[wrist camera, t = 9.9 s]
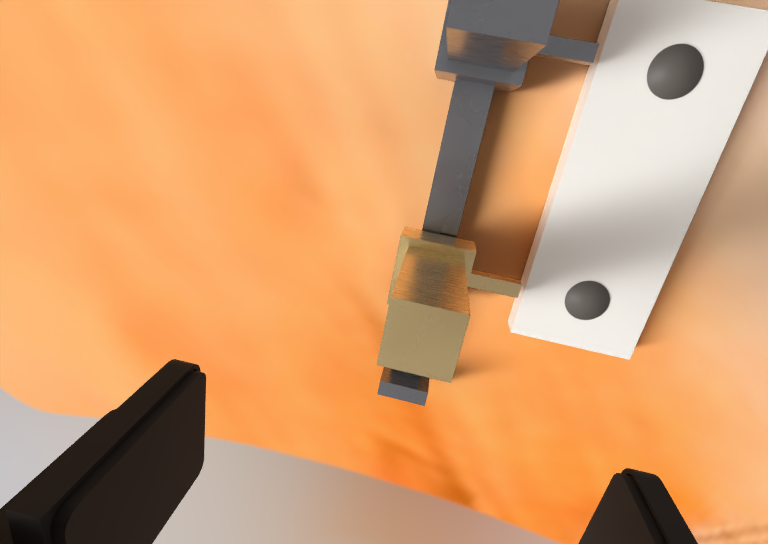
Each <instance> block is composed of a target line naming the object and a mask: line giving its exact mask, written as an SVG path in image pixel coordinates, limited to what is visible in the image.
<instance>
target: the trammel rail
mask: <svg viewBox="0 0 768 544" xmlns="http://www.w3.org/2000/svg"><path fill="white" fill-rule="evenodd" d="M558 3H559V0H449V2H448V7H447V12H446V16H445V21H444V26H443V31H442V36H441V41H440V46H439V51H438V56H437V61H436V66H435V73H436V76H437V78H438V79H444V80H449V81H454V82H455V84H454V89H453V93H452V98H451V102H450V107H449V111H448V116H447V120H446V125H445V129H444V134H443V138H442V143H441V147H440V152H439V157H438V161H437V166H436V170H435V175H434V179H433V184H432V188H431V193H430V197H429V202H428V206H427V211H426V215H425V220H424V224H423V229H422V231H426V232H431V233H436V234H440V235H445V236H449V237H454V238H457V235H458V231H459V227H460V223H461V219H462V215H463V211H464V207H465V203H466V199H467V195H468V191H469V187H470V183H471V179H472V175H473V171H474V167H475V163H476V159H477V155H478V151H479V147H480V143H481V139H482V135H483V131H484V127H485V123H486V119H487V115H488V112H489V108H490V104H491V100H492V96H493V92H494V89H497V90H502V91H508V92H512V91H514V90H516V89H517V88H519V87H521V86H522V84H523V80H524V76H525V72H526V69H527V65H528V61H529V59H530V58H532V57H533V56H539V57H545V58H550V59H556V60H561V61H567V62H572V63H578V64H583V65H590V64H592V63H593V62H594V59H595V56H596V53H597V50H598V47H599V44H598V43H592V42H586V41H581V40H575V39H569V38H564V37H558V36H552V35H550V31H551V28H552V24H553V20H554V17H555V13H556V10H557V6H558ZM428 387H429V378H428V377H424V376H420V375H416V374H412V373H408V372H404V371H400V370H395V369H391V368H387V367H384V369H383V373H382V377H381V380H380V385H379V389H378V394H379V395H383V396H387V397H391V398H395V399H399V400H403V401H407V402H411V403H415V404H419V405H423V406H425V402H426V398H427V395H428Z"/></svg>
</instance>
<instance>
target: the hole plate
mask: <svg viewBox="0 0 768 544" xmlns="http://www.w3.org/2000/svg"><path fill="white" fill-rule="evenodd" d="M597 43H598V44H599V47H598V50H597V53H596V56H595V59H594V62H593V63H592V64H590V65H589V68H588V71H587V74H586V77H585V80H584V84H583V87H582V90H581V93H580V96H579V99H578V102H577V106H576V109H575V112H574V115H573V118H572V121H571V124H570V128H569V131H568V134H567V137H566V140H565V143H564V146H563V150H562V153H561V156H560V159H559V162H558V165H557V168H556V171H555V175H554V178H553V181H552V184H551V187H550V190H549V193H548V197H547V200H546V203H545V206H544V209H543V212H542V215H541V219H540V222H539V225H538V228H537V231H536V234H535V237H534V241H533V244H532V247H531V250H530V253H529V256H528V259H527V263H526V266H525V269H524V272H523V275H522V278H521V284H522V287H521V290H520V293H519V296H518V298H516V297H515V300H514V303H513V306H512V310H511V313H510V316H509V319H508V324H509V328H510V331H511V332H512V333H516V334H521V335H525V336H529V337H534V338H538V339H542V340H547V341H551V342H555V343H560V344H564V345H568V346H573V347H577V348H581V349H585V350H590V351H594V352H598V353H603V354H607V355H611V356H616V357H620V358H624V359H629V360H630V357H631V355H632V353H633V351H634V348H635V346H636V344H637V342H638V339H639V337H640V335H641V333H642V330H643V328H644V326H645V324H646V321H647V319H648V317H649V315H650V312H651V310H652V308H653V306H654V304H655V301H656V299H657V297H658V295H659V292H660V290H661V288H662V286H663V283H664V281H665V279H666V277H667V274H668V272H669V270H670V268H671V265H672V263H673V261H674V259H675V257H676V254H677V252H678V250H679V248H680V245H681V243H682V241H683V239H684V236H685V234H686V232H687V230H688V227H689V225H690V223H691V221H692V218H693V216H694V214H695V212H696V209H697V207H698V205H699V203H700V201H701V198H702V196H703V194H704V192H705V189H706V187H707V185H708V183H709V180H710V178H711V176H712V174H713V171H714V169H715V167H716V165H717V162H718V160H719V158H720V156H721V154H722V151H723V149H724V147H725V145H726V142H727V140H728V138H729V136H730V133H731V131H732V129H733V127H734V124H735V122H736V120H737V118H738V115H739V113H740V111H741V109H742V106H743V104H744V102H745V100H746V98H747V95H748V93H749V91H750V89H751V86H752V84H753V82H754V80H755V77H756V75H757V73H758V71H759V68H760V66H761V64H762V62H763V59H764V57H765V55H766V53H767V51H768V11H767V10H761V9H755V8H749V7H743V6H737V5H731V4H725V3H719V2H713V1H707V0H610V2H609V5H608V8H607V11H606V15H605V18H604V21H603V24H602V27H601V30H600V33H599V37H598V40H597Z"/></svg>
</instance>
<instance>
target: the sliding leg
mask: <svg viewBox="0 0 768 544" xmlns="http://www.w3.org/2000/svg"><path fill="white" fill-rule="evenodd" d="M476 252H477V251H476V246H475V242H473V241H468V240H463V239H459V238H454V237H449V236H445V235H440V234H436V233H431V232H426V231H422V230H417V229H412V228H408V227H404V230H403V232H402V234H401V237H400V242H399V247H398V252H397V257H396V262H395V267H394V272H393V277H392V282H391V286H390V291H389V296H388V301H387V304H389V308H388V313H387V317H386V322H385V327H384V332H383V337H382V342H381V347H380V351H379V356H378V361H377V365H379V366H383V367H387V368H391V369H395V370H400V371H404V372H408V373H412V374H416V375H420V376H424V377H428V378H433V379H437V380H441V381H445V382H449V383H451V382H452V378H453V375H454V371H455V368H456V364H457V360H458V357H459V353H460V350H461V346H462V343H463V339H464V336H465V332H466V329H467V325H468V321H469V318H470V307H469V297H468V287H471V288H475V289H480V290H484V291H489V292H493V293H498V294H502V295H507V296H511V297H516V298H518V296H519V293H520V290H521V287H522V284H521V281H520V280H518V279H513V278H509V277H504V276H500V275H495V274H491V273H486V272H482V271H477V270H473V269H472V267H473V263H474V260H475V256H476Z"/></svg>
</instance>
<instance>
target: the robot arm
mask: <svg viewBox="0 0 768 544" xmlns="http://www.w3.org/2000/svg"><path fill="white" fill-rule="evenodd" d="M205 397H206V375H205V373H202V372H200V367H199V365H197V364H192V363H188V362H184V361H180V360H176V359H174V360H171V361H169V362H168V363H167V364H166V365H165V366H164V367H162V368H161V369H160V370H159V371H158V372H157V373H156V374H155V375H154V376H153V377H151V378H150V379H149V380H148V381H147V382H146V383H145V384H144V385H143V386H142V387H140V388H139V389H138V390H137V391H136V392H135V393H134V394H133V395H132V396H130V397H129V398H128V399H127V400H126V401H125V402H124V403H123V404H122V405H121V406H119V407H118V408H117V409H115V410H112V411H110V412H109V413H108V414H106V415H105V416H104V417H103V418H102V419H100V420H99V421H98V422H97V423H96V424H95V425H94V426H93V427H91V428H90V429H89V430H88V431H87V432H86V433H85V434H84V435H83V436H81V437H80V438H79V439H78V440H77V441H76V442H75V443H74V444H73V445H71V447H69V448H68V449H67V450H66V451H65V452H64V453H62V454H61V455H60V456H59V457H58V458H57V459H56V460H55V461H53V462H52V463H51V464H50V465H49V466H48V467H47V468H46V469H45V470H43V471H42V472H41V473H40V474H39V475H38V476H37V477H36V478H34V479H33V480H32V481H31V482H30V483H29V484H28V485H27V486H26V487H24V488H23V489H22V490H21V491H20V492H19V493H18V494H17V495H15V496H14V497H13V498H12V499H11V500H10V501H9V502H8V503H6V504H5V505H4V506H3V507H2V508H1V509H0V544H152V543H153V542H154V540H155V539H156V537H157V536H158V534H159V533H160V531H161V530H162V528H163V527H164V525H165V524H166V522H167V521H168V519H169V518H170V516H171V515H172V514H173V512H174V511H175V509H176V508H177V506H178V505H179V503H180V502H181V500H182V499H183V497H184V496H185V494H186V493H187V492H188V490H189V489H190V487H191V486H192V484H193V483H194V481H195V480H196V478H197V477H198V475H199V473H200V471H201V469H202V466H203V462H204V437H205ZM579 544H698V543H697V542H696V540H695V538H694V536H693V535H692V533H691V531H690V529H689V528H688V526H687V524H686V522H685V521H684V519H683V517H682V516H681V514H680V512H679V510H678V509H677V507H676V505H675V503H674V502H673V500H672V498H671V496H670V495H669V493H668V491H667V490H666V488H665V486H664V484H663V483H662V481H661V480H660V478H659V477H658V476H656V475H654V474H650V473H646V472H642V471H638V470H634V469H628V468H626V469H624V470H623V471H622V473H621V474H620V473H616V474H615V475H614V476H613V477H612V479H611V481H610V483H609V485H608V487H607V489H606V491H605V493H604V495H603V497H602V499H601V501H600V503H599V505H598V507H597V509H596V511H595V513H594V515H593V517H592V518H591V520H590V522H589V524H588V526H587V528H586V530H585V532H584V534H583V536H582V538H581V540H580V542H579Z"/></svg>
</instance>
